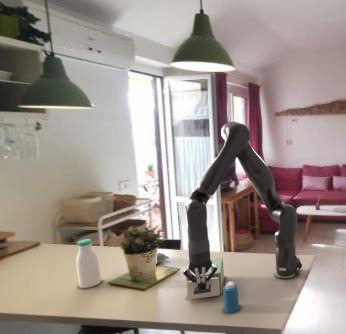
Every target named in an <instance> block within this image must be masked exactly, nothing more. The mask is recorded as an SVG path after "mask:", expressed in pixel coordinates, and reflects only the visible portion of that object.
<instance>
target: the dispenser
mask: <svg viewBox="0 0 346 334" xmlns="http://www.w3.org/2000/svg"><path fill="white" fill-rule="evenodd" d="M210 259H211V261H212V264H213V265H215V266H216V265H217V266H218V269H217V271H216V272H215V274H214V275H213V276H216V275H218V277H219V289H220V295H223V287H224V281H225V272H224V271H225V270H224V257H219V258H218V257H217V258H210ZM190 271H191V270H190ZM210 272H211V268H210V269H209V270H208V272H207V273H206V277H207V276H208V275H209V273H210ZM191 273H192V274H193V275H194V276H195V277H196V275H195V274H194V273H193V272H192V271H191ZM185 277H186V276H185ZM201 277H202V274H201ZM185 279H186V282H187V281H190V280H189V279H188V278H187V277H186V278H185ZM186 288H187V287H186ZM187 291H188V288H187Z"/></svg>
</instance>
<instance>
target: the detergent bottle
mask: <svg viewBox="0 0 346 334" xmlns="http://www.w3.org/2000/svg"><path fill="white" fill-rule="evenodd" d="M238 288H239V287H238V284H236V283H235V282H234V281H228V282H226V283H225V285H223V289H222V296H223V307H224V312H225V313H226V314H234V313H236V312H238V311H239V310H240V307H239V306H240V303H239V302H240V301H239V289H238Z"/></svg>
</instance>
